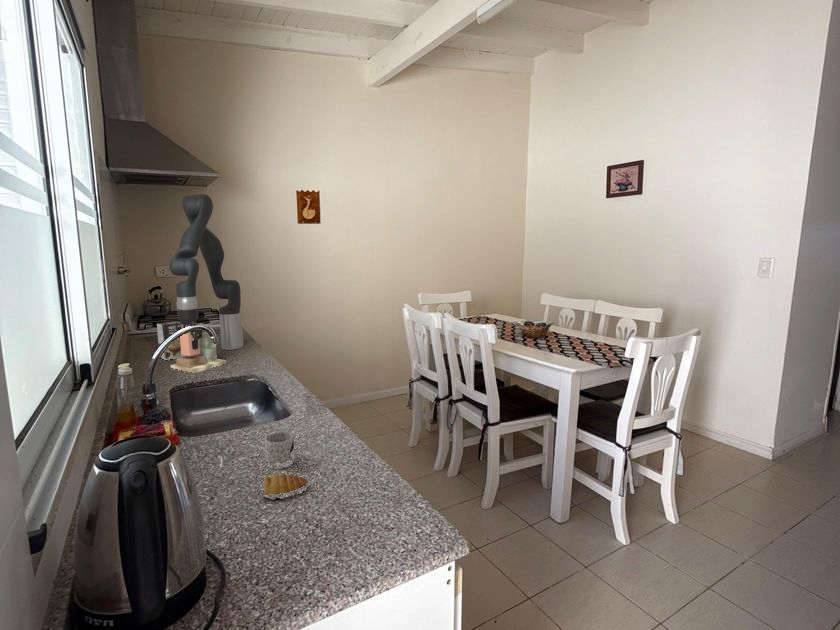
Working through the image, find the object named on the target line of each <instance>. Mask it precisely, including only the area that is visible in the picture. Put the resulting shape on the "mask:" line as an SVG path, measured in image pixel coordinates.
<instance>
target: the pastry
mask: <svg viewBox="0 0 840 630" xmlns="http://www.w3.org/2000/svg"><path fill="white" fill-rule="evenodd" d="M306 483H307V484H308V479H307V478H305V477H302V476H298V475H292V474H284V473H280V474H272V475H271V476H264V479H263V486H264V487H263V494H265V495H268V494H280V493H286V492H290V491H293V490H296V489H298V488H301V487H303V486H305V485H306Z"/></svg>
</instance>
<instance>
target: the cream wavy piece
mask: <svg viewBox="0 0 840 630" xmlns="http://www.w3.org/2000/svg"><path fill="white" fill-rule="evenodd" d="M199 344H200V354H196V355H192V356H185V357H181V358H177V359H175V363H174V364H170V369H171V368H173V369H172V370H175V369H178V370H177V371H181V370H182V372H186V371H187V373H191V372H192V374H196V373H200V372H203V371H206V370H210V369H213V367H214V368H217V367H219V366H220V367H221V366H223V364H224V365H226V364H227V360H225V359H220V358H217V357H218V356H217V343H216V344H214V343H213V342H212V341H211V339H210V336H209V334H208V333H207V332H206V331H202V338H201V339H199ZM216 366H217V367H216Z"/></svg>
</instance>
